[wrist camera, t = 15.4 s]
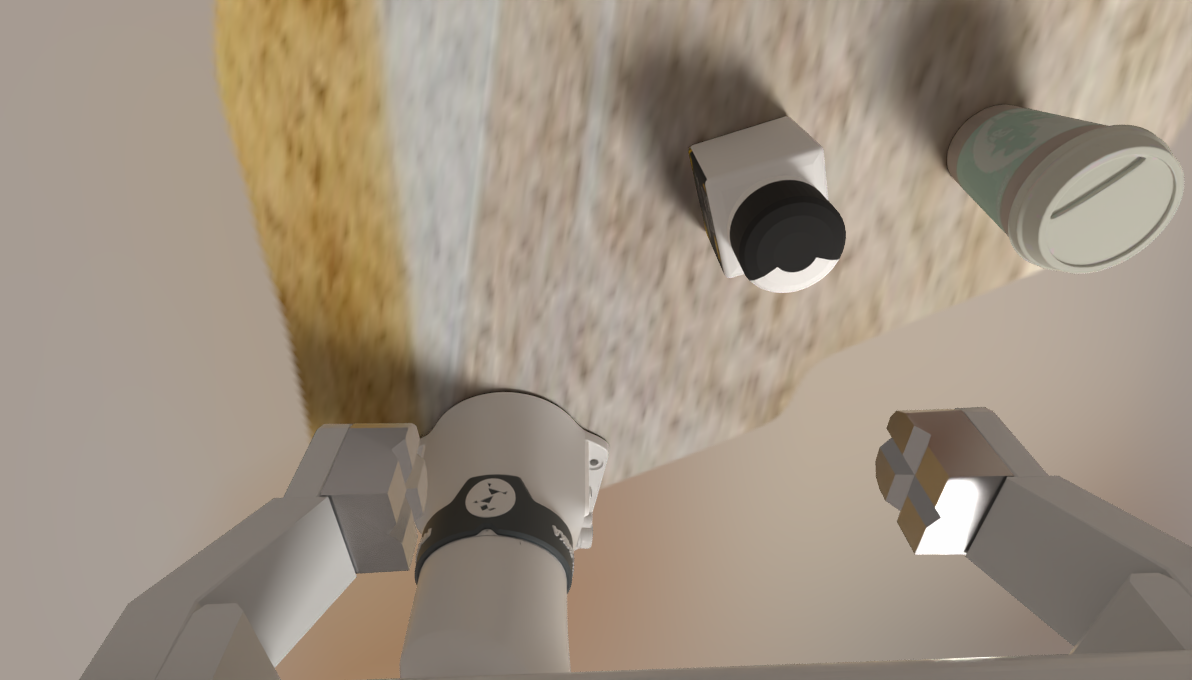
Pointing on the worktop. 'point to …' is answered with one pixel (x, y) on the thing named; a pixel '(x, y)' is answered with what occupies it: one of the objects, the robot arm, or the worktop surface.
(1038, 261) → the coffee cup
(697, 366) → the worktop surface
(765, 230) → the medicine bottle
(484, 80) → the worktop surface
